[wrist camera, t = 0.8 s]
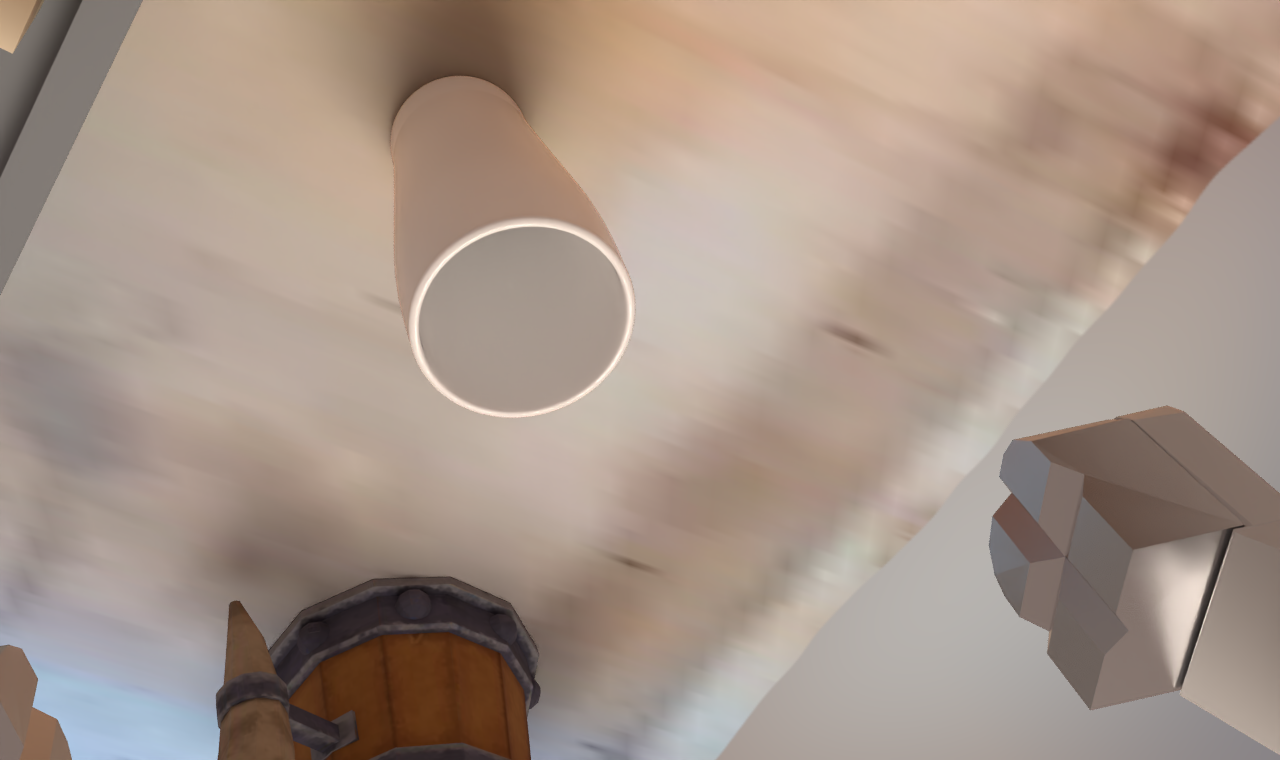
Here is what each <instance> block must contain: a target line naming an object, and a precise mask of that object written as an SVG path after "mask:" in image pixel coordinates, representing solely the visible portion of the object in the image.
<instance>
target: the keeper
mask: <svg viewBox="0 0 1280 760" xmlns="http://www.w3.org/2000/svg"><path fill="white" fill-rule="evenodd" d="M43 2H44V0H0V48H2V49H4V50H6V51H8V52H10V53H12V54H13V52H14V51H15V49H16V48H17V46H18V44H19V43H20V41H21V39H22V38H23V36H24V35H25V33H26V31H27V30H28V28H29V26H30V25H31V23H32V21H33V20H34V18H35V17H36V15H37V13H38V12H39V10H40V8H41V6H42V4H43Z"/></svg>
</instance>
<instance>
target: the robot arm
mask: <svg viewBox="0 0 1280 760" xmlns="http://www.w3.org/2000/svg"><path fill="white" fill-rule="evenodd" d="M999 477H1000V479H1001V480H1002V481H1003V482H1004V484H1005V485H1006V486H1007V487H1008V489H1009V490H1010V491H1011V494H1010V496H1009V497H1008V498H1007V499H1006V500H1005V502H1004V503H1003V504H1002V505H1001V506H1000V508H999V509H998V510H997V511H996V513H995V514H994V515H993V517H992V525H991V533H990V541H989V548H990V553H991V559H992V563H993V568H994V574H995V576H996V578H997V581H998V583H999V585H1000V587H1001V589H1002V592H1003V594H1004V596H1005V597H1006V599H1007V600H1008V602H1009V603H1010V604H1011V606H1012V607H1013V608H1014V610H1015V611H1016V613H1017V614H1018V615H1019V617H1021V618H1023V619H1025V620H1027V621H1030V622H1031V623H1033V624H1036V625H1037V626H1040V627H1042V628H1044V629H1046V630H1048V631H1049V639H1048V650H1047V654H1048V655H1049V657H1050V658H1051V659H1052V660H1053V662H1054V663H1055V665H1056V666H1057V667H1058V668H1059V670H1060V671H1061V672H1062V674H1063V675H1064V676H1065V678H1066V679H1067V680H1068V682H1069V683H1070V684H1071V685H1072V687H1073V688H1074V689H1075V691H1076V692H1077V693H1078V695H1079V696H1080V697H1081V699H1082V700H1083V701H1084V702H1085V704H1086V705H1087V706H1088V708H1089V709H1090V710H1094V709H1098V708H1103V707H1107V706H1111V705H1116V704H1121V703H1125V702H1129V701H1134V700H1138V699H1142V698H1147V697H1152V696H1156V695H1160V694H1164V693H1169V692H1174V691H1178V690H1181V692H1180V695H1181V696H1182V697H1184V698H1186V699H1187V700H1189V701H1191V702H1192V703H1194V704H1196V705H1197V706H1199V707H1201V708H1202V709H1204V710H1206V711H1207V712H1209V713H1211V714H1212V715H1214V716H1216V717H1217V718H1219V719H1221V720H1222V721H1224V722H1226V723H1227V724H1229V725H1231V726H1233V727H1234V728H1235V729H1237V730H1239V731H1240V732H1242V733H1244V734H1246V735H1247V736H1249V737H1250V738H1252V739H1254V740H1255V741H1257V742H1259V743H1260V744H1262V745H1264V746H1265V747H1267V748H1269V749H1271V750H1272V751H1274V752H1276V753H1277V754H1279V755H1280V493H1279V492H1277V491H1276V490H1275V489H1274V488H1273V487H1272V486H1271V485H1269V484H1268V483H1267V482H1266V481H1265V480H1264V479H1262V478H1261V477H1260V476H1259V475H1258V474H1257V473H1255V472H1254V471H1253V470H1252V469H1251V468H1250V467H1248V466H1247V465H1246V464H1245V463H1244V462H1243V461H1241V460H1240V459H1239V458H1238V457H1237V456H1236V455H1234V454H1233V453H1232V452H1231V451H1230V450H1229V449H1227V448H1226V447H1225V446H1224V445H1223V444H1222V443H1220V442H1219V441H1218V440H1217V439H1216V438H1214V437H1213V436H1212V435H1211V434H1210V433H1209V432H1208V431H1206V430H1205V429H1204V428H1203V427H1202V426H1201V425H1199V424H1198V423H1197V422H1196V421H1195V420H1194V419H1192V418H1191V417H1190V416H1189V415H1188V414H1187V413H1185V412H1184V411H1181V410H1179V409H1176V408H1173V407H1170V406H1163V407H1158V408H1154V409H1149V410H1145V411H1141V412H1136V413H1132V414H1127V415H1123V416H1118V417H1116V418H1115V419H1112V420H1104V421H1099V422H1095V423H1090V424H1085V425H1081V426H1076V427H1071V428H1066V429H1062V430H1057V431H1053V432H1048V433H1043V434H1038V435H1034V436H1029V437H1024V438H1019V439H1014V440H1012V442H1011V444H1010V445H1009V447H1008V448H1007V450H1006V451H1005V453H1004V455H1003V460H1002V465H1001V471H1000V476H999ZM37 682H38V678H37V676H36V674H35V673H34V671H33V669H32V667H31V665H30V663H29V661H28V659H27V658H26V656H25V654H24V652H23V650H22V649H21V648H18V647H14V646H11V645H4V646H0V760H72V758H71V754H70V750H69V746H68V742H67V740H66V738H65V735H64V733H63V731H62V729H61V727H60V724H59V722H58V720H57V719H56V718H53V717H51V716H49V715H47V714H45V713H43V712H41V711H39V710H37V709H35V708H33V707H32V706H33V701H34V696H35V691H36V687H37Z"/></svg>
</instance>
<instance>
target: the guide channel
mask: <svg viewBox="0 0 1280 760" xmlns="http://www.w3.org/2000/svg"><path fill="white" fill-rule="evenodd" d="M142 1H143V0H44V2H43V4H42V6H41V8H40V10H39V12H38V13H37V15H36V17H35V18H34V20H33V21H32V23H31V25H30V26H29V28H28V30H27V31H26V33H25V35H24V36H23V38H22V39H21V41H20V43H19V44H18V46H17V48H16V49H15V51H14V52H13V54H12V53H10V52H8V51H6V50H4V49H2V48H0V295H1V293H2V291H3V289H4V287H5V285H6V282H7V280H8V278H9V276H10V274H11V272H12V270H13V268H14V266H15V264H16V262H17V260H18V258H19V256H20V253H21V251H22V249H23V247H24V245H25V243H26V241H27V239H28V237H29V235H30V233H31V231H32V229H33V227H34V224H35V222H36V220H37V218H38V216H39V214H40V212H41V210H42V208H43V206H44V204H45V202H46V200H47V198H48V195H49V193H50V191H51V189H52V187H53V185H54V183H55V181H56V179H57V177H58V175H59V173H60V171H61V169H62V166H63V164H64V162H65V160H66V158H67V156H68V154H69V152H70V150H71V148H72V146H73V144H74V142H75V140H76V137H77V135H78V133H79V131H80V129H81V127H82V125H83V123H84V121H85V119H86V117H87V115H88V113H89V110H90V108H91V106H92V104H93V102H94V100H95V98H96V96H97V94H98V92H99V90H100V88H101V86H102V84H103V81H104V79H105V77H106V75H107V73H108V71H109V69H110V67H111V65H112V63H113V61H114V59H115V57H116V55H117V52H118V50H119V48H120V46H121V44H122V42H123V40H124V38H125V36H126V34H127V32H128V30H129V28H130V26H131V23H132V21H133V19H134V17H135V15H136V13H137V11H138V9H139V7H140V5H141V3H142Z"/></svg>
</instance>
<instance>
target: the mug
mask: <svg viewBox="0 0 1280 760" xmlns="http://www.w3.org/2000/svg"><path fill="white" fill-rule="evenodd" d="M538 657H539V654H538V650H537V647H536V645H535V644H534V642H533V640H532V639H531V637H530V635H529V634H528V632H527V630H526V629H525V627H524V625H523V624H522V622H521V620H520V619H519V617H518V615H517V614H516V612H515V610H514V609H513V607H512V605H511V604H510V603H509V602H506V601H504V600H502V599H499V598H497V597H495V596H493V595H490V594H488V593H486V592H483V591H481V590H479V589H477V588H474V587H472V586H470V585H468V584H465V583H463V582H461V581H458V580H456V579H454V578H452V577H435V578H402V579H373V580H370V581H368V582H366V583H364V584H361V585H359V586H357V587H355V588H352V589H350V590H348V591H346V592H343V593H341V594H339V595H337V596H334V597H332V598H330V599H328V600H325V601H323V602H321V603H319V604H316V605H314V606H312V607H310V608H307V609H305V610H303V611H301V612H300V614H299V615H298V616H297V617H296V618H295V620H294V621H293V622H292V623H291V624H290V626H289V627H288V628H287V629H286V630H285V632H284V633H283V634H282V635H281V637H280V638H279V639H278V640H277V641H276V643H275V644H274V645H273V646H272V647H271V649H270V650H269V651H268V649H267V646H266V643H265V640H264V637H263V636H262V634H261V633H260V631H259V630H258V628H257V627H256V625H255V624H254V622H253V621H252V619H251V618H250V616H249V615H248V613H247V612H246V610H245V609H244V607H243V606H242V604H241V603H240V601H233V602H231V603H230V605H229V618H228V634H227V649H226V662H225V675H224V685H223V686H222V687H221V689H220V690H219V691H218V692H217V694H216V709H217V719H218V727H219V728H220V741H219V753H218V760H531V755H530V744H529V734H528V724H527V716H528V711H529V709H531V708H532V707H533V706H535V705H536V704H537V703H538V701H539V697H540V686H539V684H538V683H537V682H536V681H535V680H534V678H535V673H536V667H537V662H538Z"/></svg>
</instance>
